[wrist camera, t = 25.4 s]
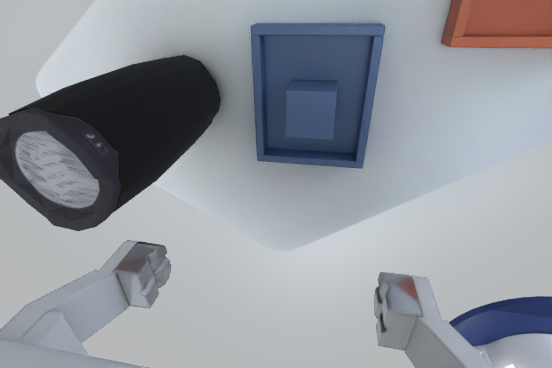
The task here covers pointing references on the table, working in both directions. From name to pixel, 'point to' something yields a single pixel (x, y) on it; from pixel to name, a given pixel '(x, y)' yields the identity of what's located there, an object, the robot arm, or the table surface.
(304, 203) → the table surface
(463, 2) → the terracotta tray
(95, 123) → the portable speaker
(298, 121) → the blue block
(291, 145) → the blue tray
